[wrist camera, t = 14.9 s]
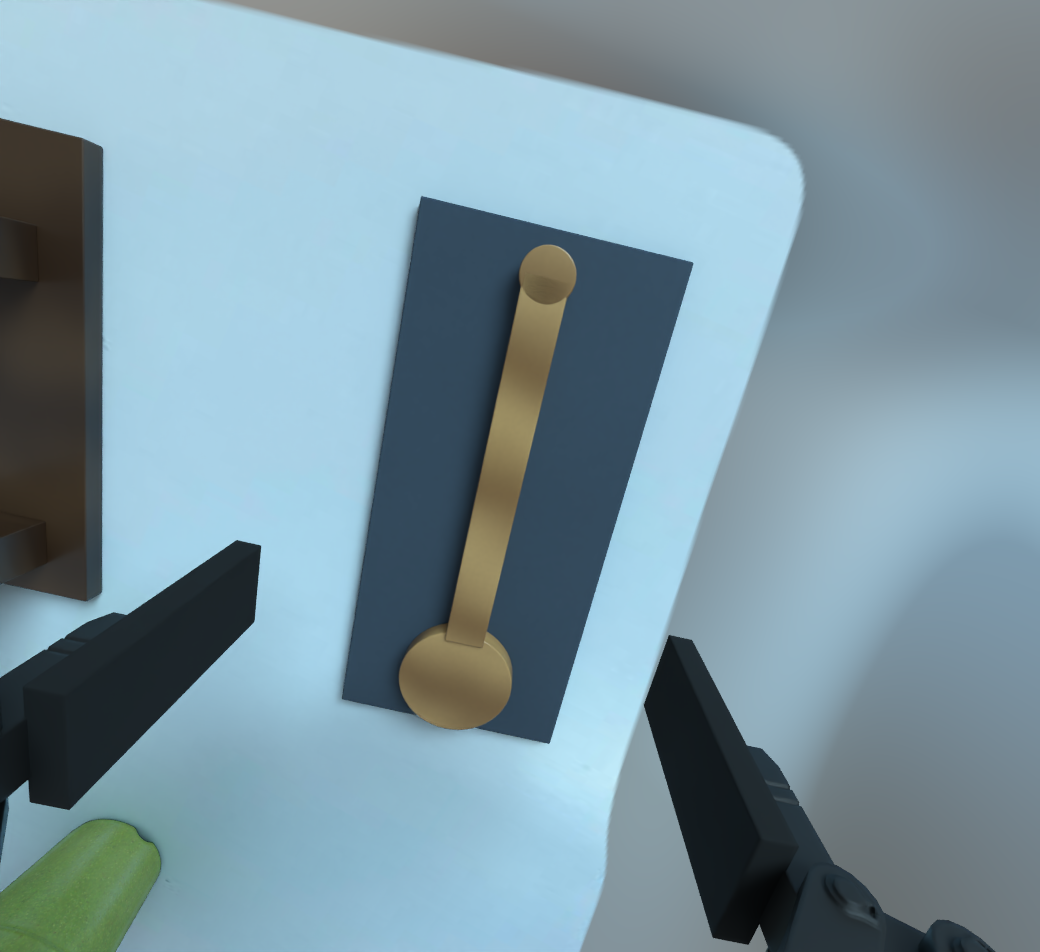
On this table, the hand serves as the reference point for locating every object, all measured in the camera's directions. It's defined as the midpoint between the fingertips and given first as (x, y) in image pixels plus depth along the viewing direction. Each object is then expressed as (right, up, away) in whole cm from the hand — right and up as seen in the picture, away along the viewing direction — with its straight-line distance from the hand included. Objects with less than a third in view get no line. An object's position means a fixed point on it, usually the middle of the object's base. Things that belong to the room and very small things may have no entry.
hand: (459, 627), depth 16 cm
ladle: (+1, +3, +9) cm, 9 cm away
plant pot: (-24, -20, +17) cm, 35 cm away
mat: (+1, +3, +9) cm, 10 cm away
